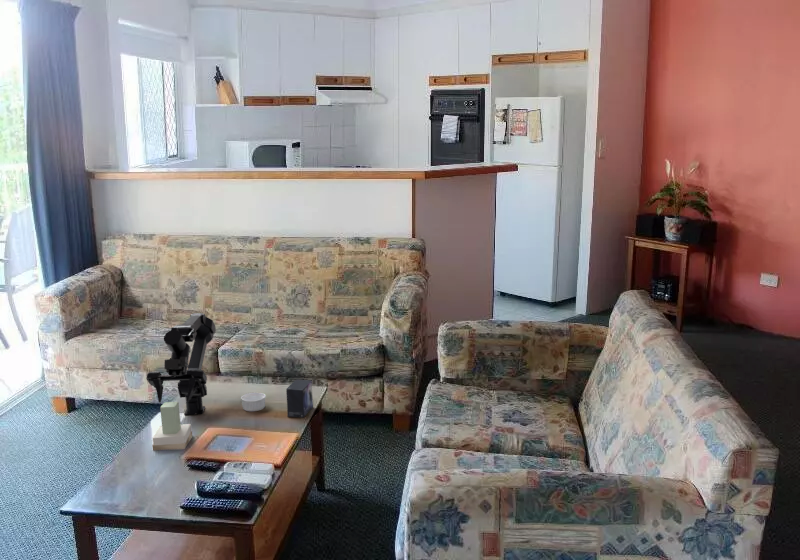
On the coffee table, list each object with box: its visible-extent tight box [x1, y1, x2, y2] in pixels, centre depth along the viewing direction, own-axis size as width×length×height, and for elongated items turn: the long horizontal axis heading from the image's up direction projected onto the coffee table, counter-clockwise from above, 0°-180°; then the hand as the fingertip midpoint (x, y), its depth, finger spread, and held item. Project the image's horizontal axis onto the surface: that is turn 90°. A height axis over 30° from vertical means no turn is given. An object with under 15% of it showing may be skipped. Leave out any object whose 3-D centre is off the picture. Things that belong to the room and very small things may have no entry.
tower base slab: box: [152, 430, 193, 451], centre depth 243 cm, size 10×10×2 cm
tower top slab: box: [152, 423, 192, 445], centre depth 243 cm, size 10×10×2 cm
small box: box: [286, 379, 314, 419], centre depth 265 cm, size 11×6×10 cm, turn 168°
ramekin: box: [240, 392, 267, 412], centre depth 272 cm, size 9×9×4 cm
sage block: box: [160, 401, 181, 434], centre depth 241 cm, size 4×4×9 cm
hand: (173, 401), depth 246 cm, fingers open, 9 cm apart
